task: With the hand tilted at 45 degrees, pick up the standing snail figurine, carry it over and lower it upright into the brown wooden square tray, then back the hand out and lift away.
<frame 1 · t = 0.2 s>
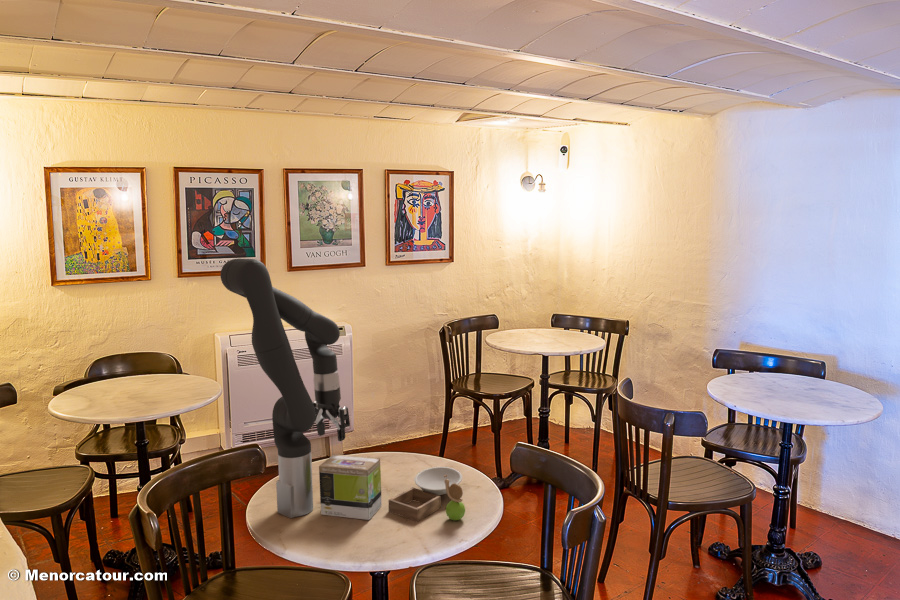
hand: (331, 437, 191), 18 cm above the table, tool pointing down, fingers open, 8 cm apart
brown wooden square tray: (414, 509, 182), on the table
snail figurine: (454, 519, 176), on the table
tea box: (351, 511, 182), on the table
dish: (438, 493, 193), on the table
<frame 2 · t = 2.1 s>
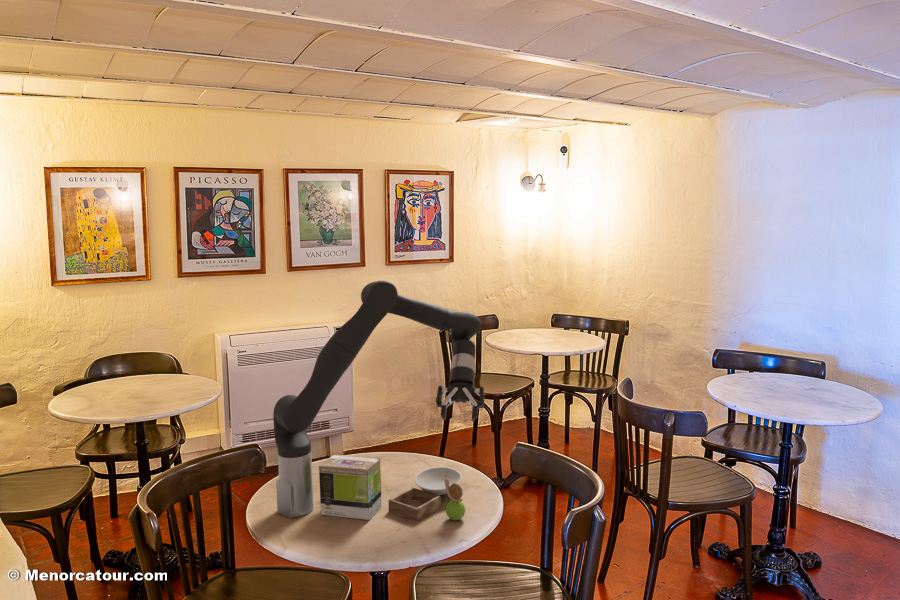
hand: (458, 419, 185), 25 cm above the table, tool tilted 45°, fingers open, 8 cm apart
nothing on the table moved.
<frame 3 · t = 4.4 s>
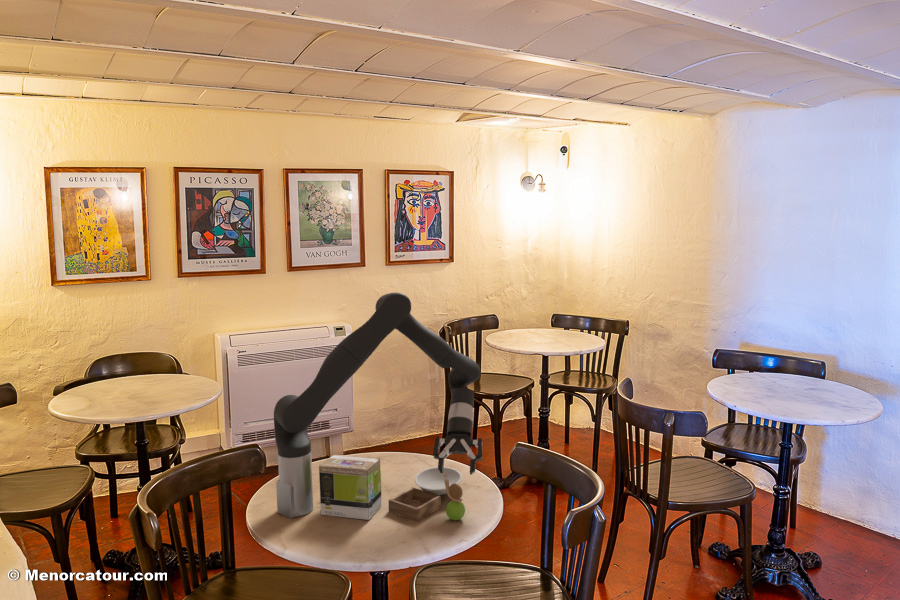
hand: (456, 472, 180), 11 cm above the table, tool tilted 45°, fingers open, 8 cm apart
nothing on the table moved.
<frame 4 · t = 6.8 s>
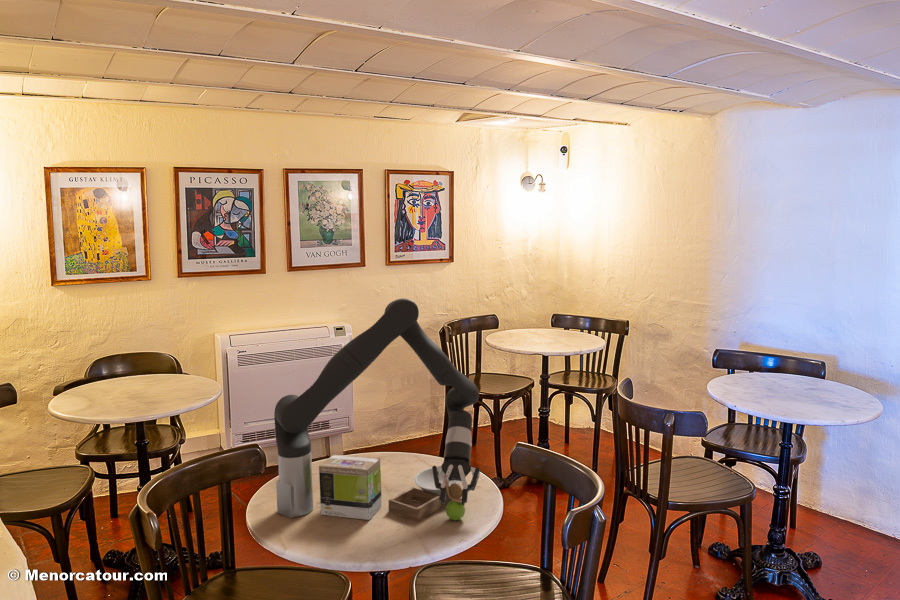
hand: (453, 503, 173), 5 cm above the table, tool tilted 45°, fingers closed on snail figurine, 4 cm apart
snail figurine: (454, 519, 176), on the table, touching gripper
everything else where it was.
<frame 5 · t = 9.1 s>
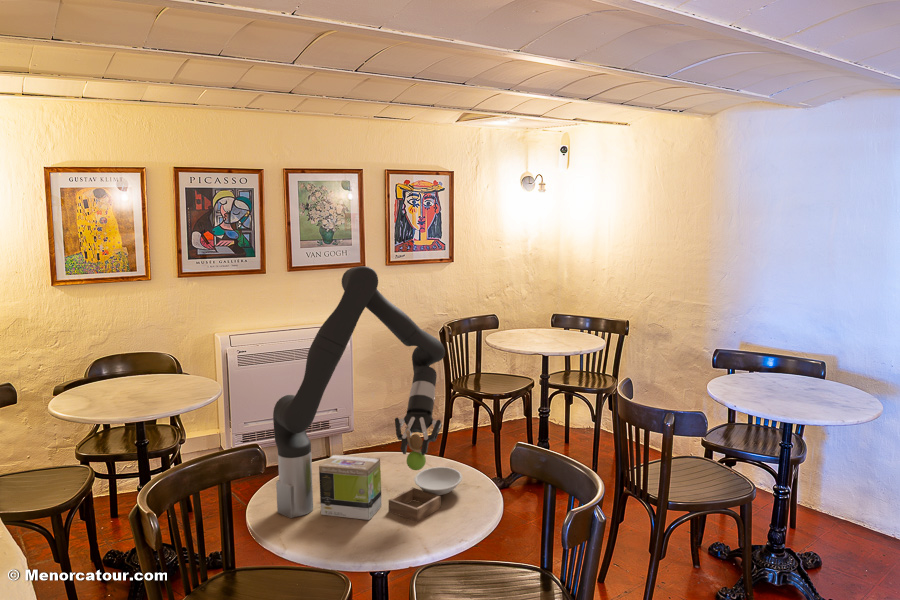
hand: (413, 453, 177), 18 cm above the table, tool tilted 45°, fingers closed on snail figurine, 4 cm apart
snail figurine: (415, 469, 180), point 12 cm above the table, touching gripper
everything else where it was.
when the fingers open (7 cm above the table, at t = 11.8 s): snail figurine drops 1 cm, resting in brown wooden square tray.
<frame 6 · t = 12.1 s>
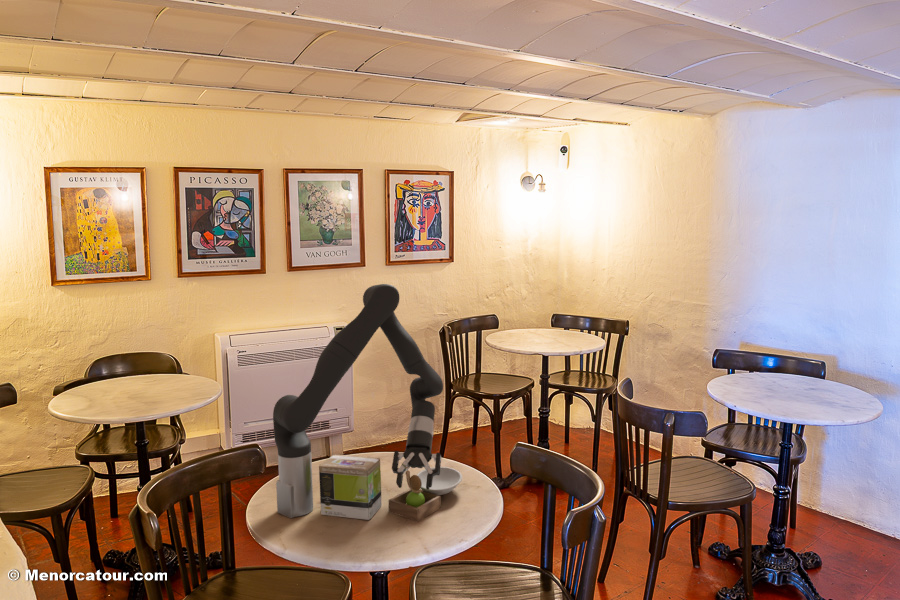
hand: (413, 487, 179), 7 cm above the table, tool tilted 45°, fingers open, 7 cm apart
snail figurine: (414, 509, 182), resting in brown wooden square tray
everything else where it was.
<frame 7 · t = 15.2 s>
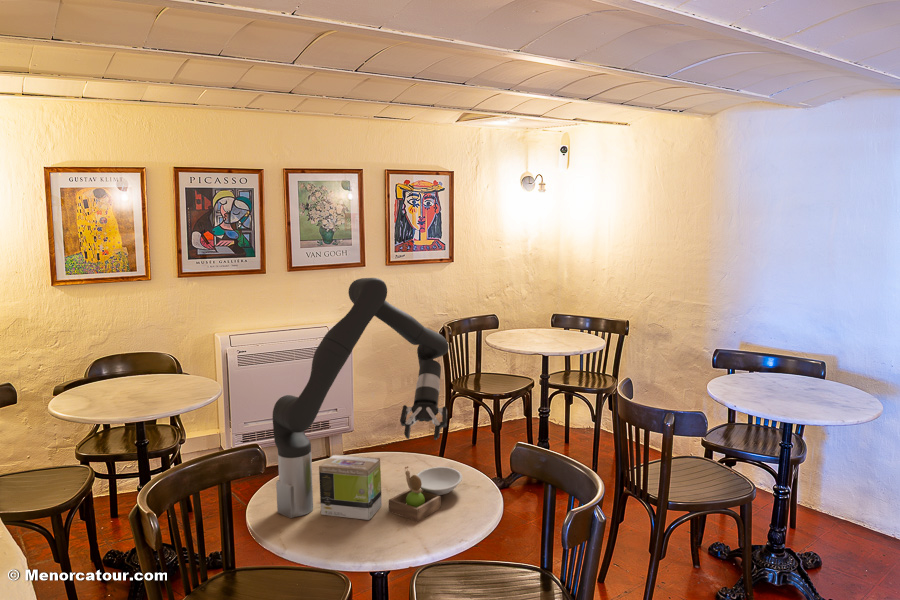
hand: (421, 438, 191), 17 cm above the table, tool tilted 45°, fingers open, 8 cm apart
nothing on the table moved.
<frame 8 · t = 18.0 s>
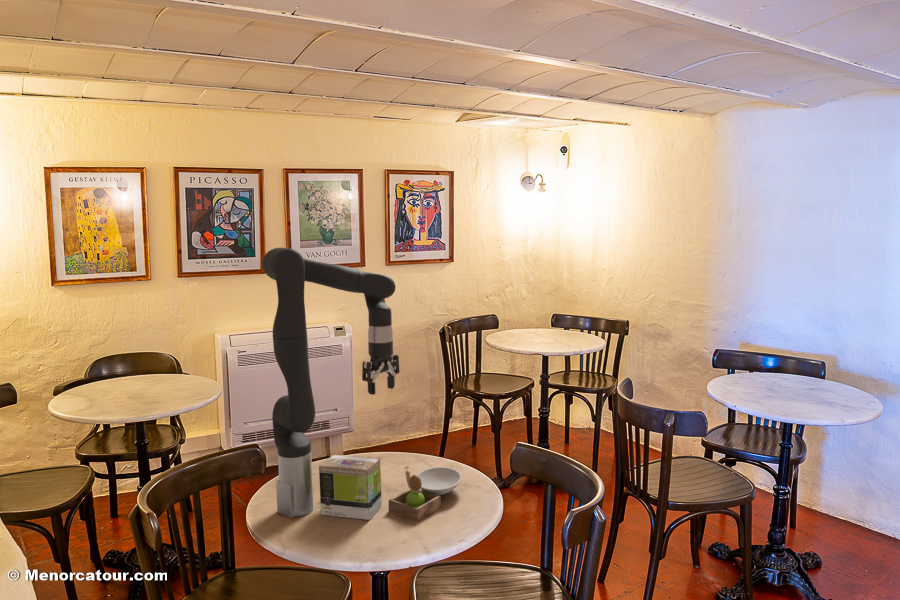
hand: (381, 391, 196), 30 cm above the table, tool pointing down, fingers open, 8 cm apart
nothing on the table moved.
at the end: snail figurine 0.3 cm off-centre on the brown wooden square tray, point 0.0 cm above the brown wooden square tray's base; snail figurine tilted 0°; the gripper is holding nothing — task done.
